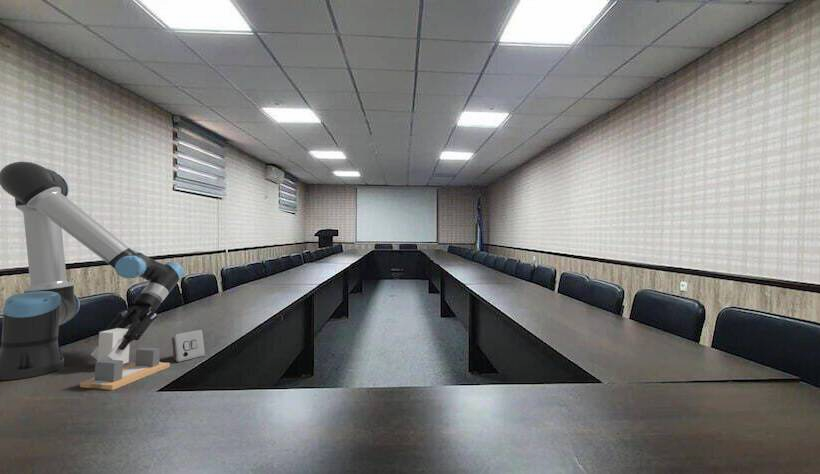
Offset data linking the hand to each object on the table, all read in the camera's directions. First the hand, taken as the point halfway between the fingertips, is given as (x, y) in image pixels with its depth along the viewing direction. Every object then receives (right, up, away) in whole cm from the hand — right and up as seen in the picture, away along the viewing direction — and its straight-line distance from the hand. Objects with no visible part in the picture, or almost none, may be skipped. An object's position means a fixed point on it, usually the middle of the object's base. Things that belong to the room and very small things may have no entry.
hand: (102, 357), depth 109 cm
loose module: (0, -3, +4) cm, 5 cm away
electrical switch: (+19, -5, +12) cm, 23 cm away
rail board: (+13, -4, -6) cm, 14 cm away
